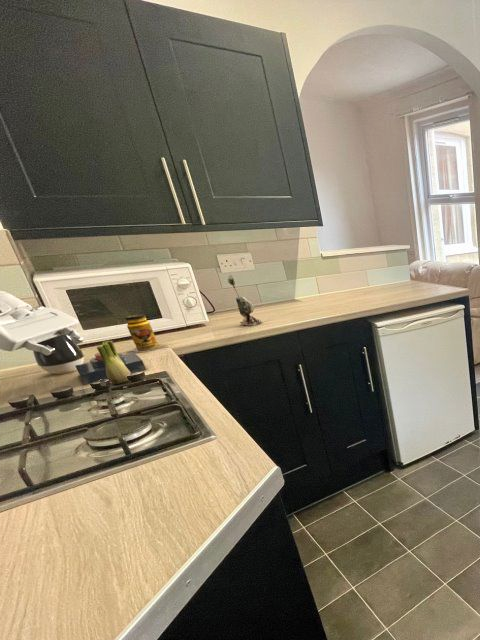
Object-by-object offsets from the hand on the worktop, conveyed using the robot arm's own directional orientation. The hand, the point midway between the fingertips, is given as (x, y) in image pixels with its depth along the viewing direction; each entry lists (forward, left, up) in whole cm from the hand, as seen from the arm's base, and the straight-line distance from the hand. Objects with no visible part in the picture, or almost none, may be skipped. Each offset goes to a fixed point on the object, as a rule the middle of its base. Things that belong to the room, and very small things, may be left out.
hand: (67, 347), depth 113 cm
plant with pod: (+54, +31, -12) cm, 63 cm away
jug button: (+7, +7, -7) cm, 12 cm away
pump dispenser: (-2, +22, -12) cm, 25 cm away
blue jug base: (+7, +7, -12) cm, 15 cm away
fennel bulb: (+7, -6, -12) cm, 15 cm away
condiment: (+19, +29, -12) cm, 37 cm away
